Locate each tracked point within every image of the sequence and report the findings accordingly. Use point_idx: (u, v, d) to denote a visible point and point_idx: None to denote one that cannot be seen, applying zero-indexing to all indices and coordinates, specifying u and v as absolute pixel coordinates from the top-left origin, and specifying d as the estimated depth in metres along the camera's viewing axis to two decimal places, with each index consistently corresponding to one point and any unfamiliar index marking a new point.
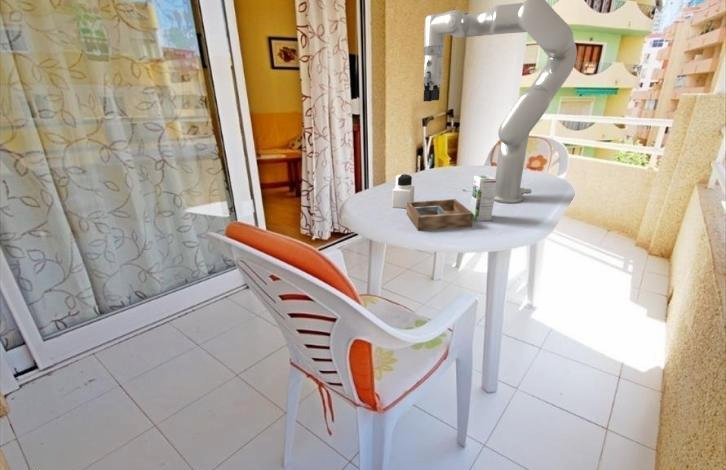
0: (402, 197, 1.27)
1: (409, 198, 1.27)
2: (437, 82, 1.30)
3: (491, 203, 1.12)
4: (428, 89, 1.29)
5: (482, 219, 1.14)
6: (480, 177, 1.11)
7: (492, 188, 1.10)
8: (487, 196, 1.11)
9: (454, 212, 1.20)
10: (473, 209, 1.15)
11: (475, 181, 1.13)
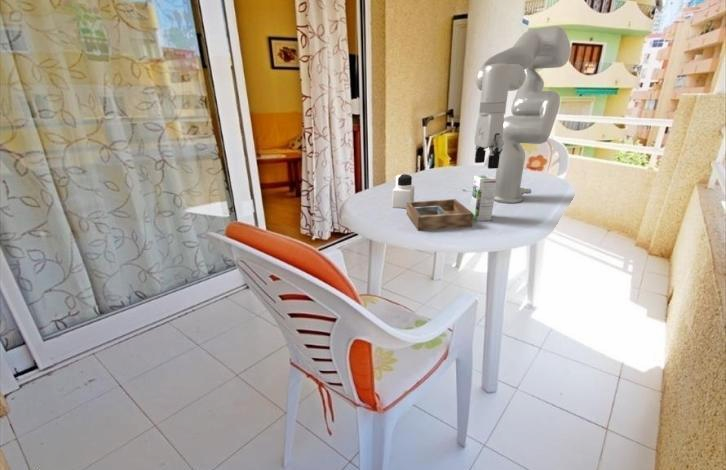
0: (402, 197, 1.27)
1: (409, 198, 1.27)
2: (476, 143, 1.09)
3: (491, 203, 1.12)
4: None
5: (482, 219, 1.14)
6: (480, 177, 1.11)
7: (492, 188, 1.10)
8: (487, 196, 1.11)
9: (454, 212, 1.20)
10: (473, 209, 1.15)
11: (475, 181, 1.13)
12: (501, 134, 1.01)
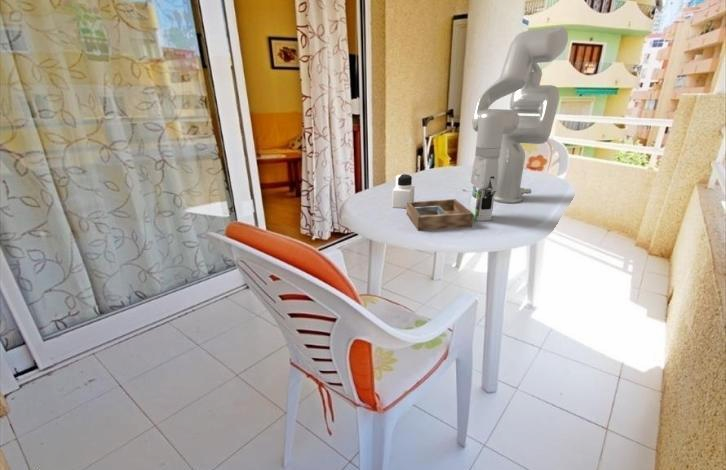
0: (402, 197, 1.27)
1: (409, 198, 1.27)
2: (473, 183, 1.14)
3: None
4: None
5: (482, 219, 1.14)
6: None
7: None
8: None
9: (454, 212, 1.20)
10: (473, 209, 1.15)
11: None
12: (496, 177, 1.06)
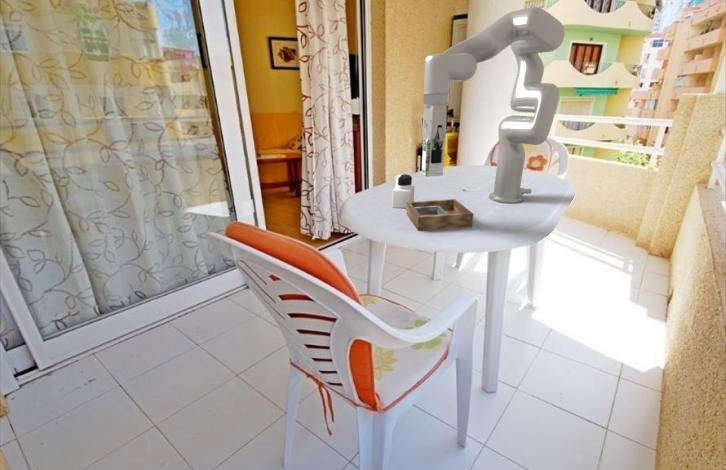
0: (402, 197, 1.27)
1: (409, 198, 1.27)
2: (423, 136, 1.07)
3: (442, 157, 1.05)
4: None
5: (433, 174, 1.07)
6: None
7: None
8: None
9: (454, 212, 1.20)
10: (423, 165, 1.08)
11: None
12: (444, 126, 0.99)
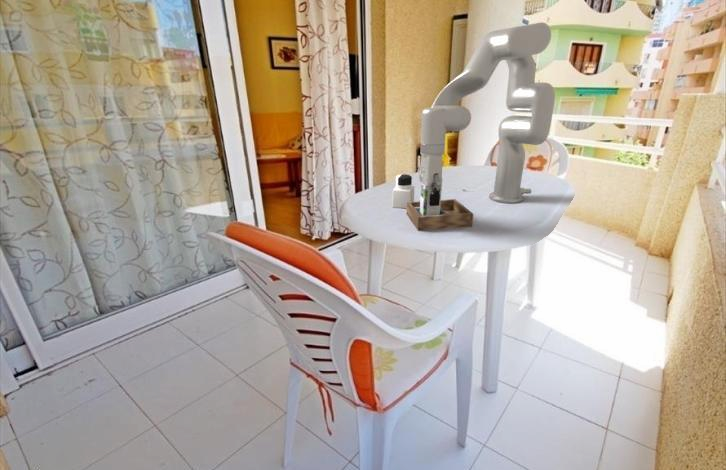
0: (402, 197, 1.27)
1: (409, 198, 1.27)
2: (420, 180, 1.13)
3: None
4: None
5: None
6: None
7: None
8: None
9: (454, 212, 1.20)
10: (421, 209, 1.14)
11: None
12: (440, 174, 1.05)
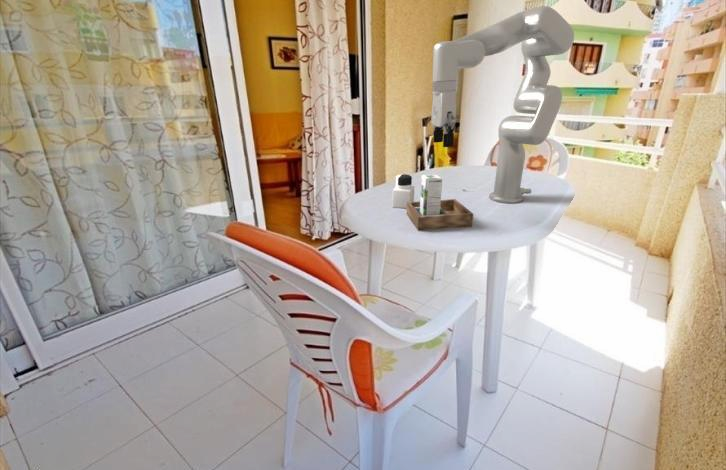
0: (402, 197, 1.27)
1: (409, 198, 1.27)
2: (433, 123, 1.10)
3: (438, 203, 1.11)
4: None
5: None
6: (426, 177, 1.10)
7: (438, 188, 1.09)
8: (433, 196, 1.10)
9: (454, 212, 1.20)
10: (421, 209, 1.14)
11: (422, 180, 1.12)
12: (453, 112, 1.02)
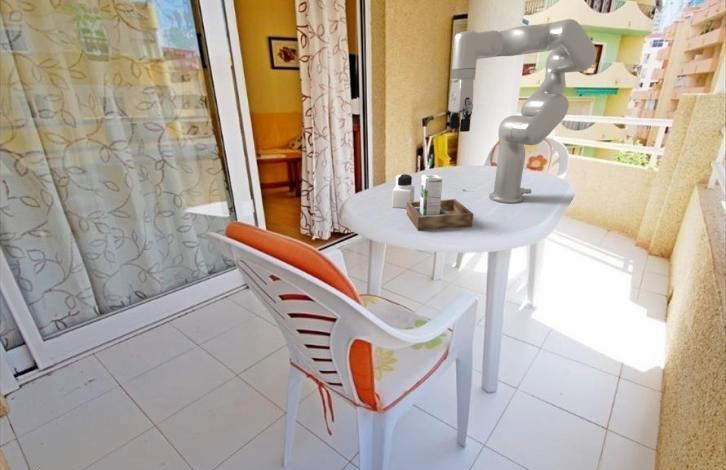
0: (402, 197, 1.27)
1: (409, 198, 1.27)
2: (450, 109, 1.16)
3: (438, 203, 1.11)
4: None
5: None
6: (426, 177, 1.10)
7: (438, 188, 1.09)
8: (433, 196, 1.10)
9: (454, 212, 1.20)
10: (421, 209, 1.14)
11: (422, 180, 1.12)
12: (471, 98, 1.09)
